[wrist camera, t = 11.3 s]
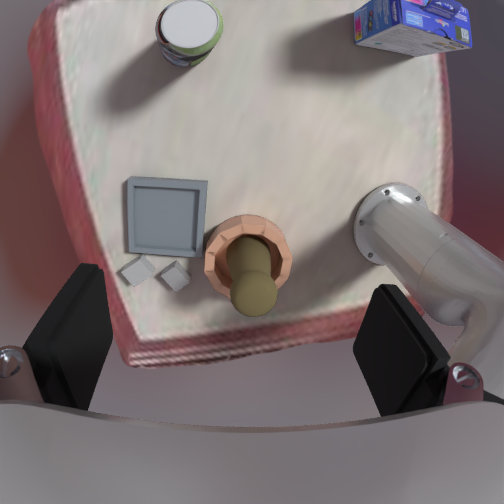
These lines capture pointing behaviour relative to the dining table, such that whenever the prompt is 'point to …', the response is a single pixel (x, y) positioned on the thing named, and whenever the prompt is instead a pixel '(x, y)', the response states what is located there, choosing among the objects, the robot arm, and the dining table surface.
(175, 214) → the tray
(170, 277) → the grey block
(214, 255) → the bowl
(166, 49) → the beverage can
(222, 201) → the dining table surface
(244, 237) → the olive pestle
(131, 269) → the light grey block
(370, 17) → the ink cartridge box
